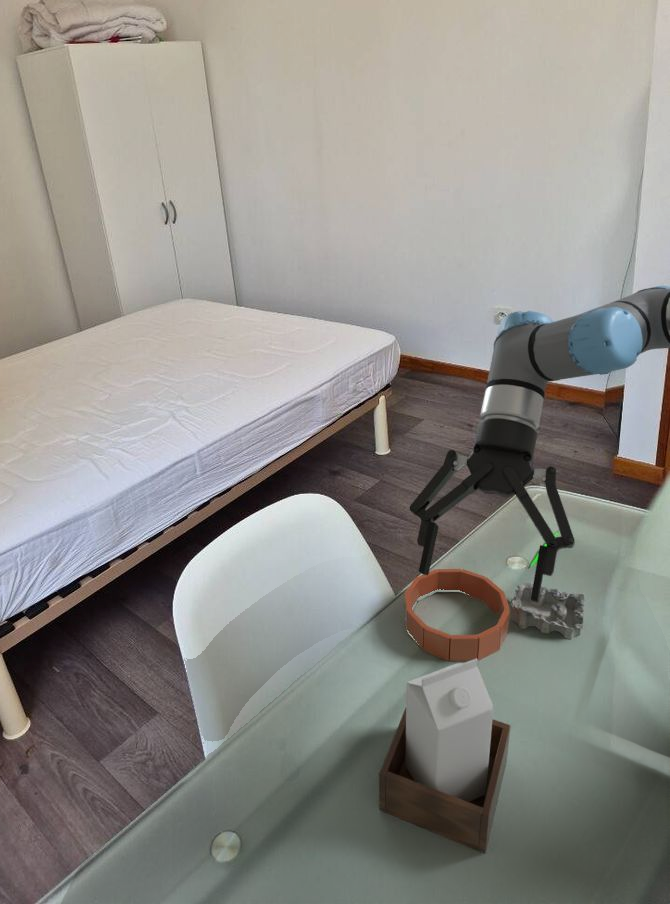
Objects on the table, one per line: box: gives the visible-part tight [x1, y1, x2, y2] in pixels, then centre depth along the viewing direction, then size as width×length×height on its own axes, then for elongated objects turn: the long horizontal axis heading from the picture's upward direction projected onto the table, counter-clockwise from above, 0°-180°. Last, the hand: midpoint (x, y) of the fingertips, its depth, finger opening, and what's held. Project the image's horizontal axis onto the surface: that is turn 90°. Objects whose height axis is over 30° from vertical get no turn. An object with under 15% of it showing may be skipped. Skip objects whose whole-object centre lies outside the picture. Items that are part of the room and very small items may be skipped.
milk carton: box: [405, 658, 494, 802], centre depth 81 cm, size 7×7×19 cm
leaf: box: [528, 531, 559, 569], centre depth 124 cm, size 1×14×1 cm, turn 139°
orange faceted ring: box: [404, 568, 511, 662], centre depth 108 cm, size 16×16×4 cm
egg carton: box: [510, 582, 585, 640], centre depth 108 cm, size 11×8×4 cm
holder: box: [378, 707, 512, 854], centre depth 83 cm, size 13×13×7 cm
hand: (477, 587), depth 85 cm, fingers open, 13 cm apart
